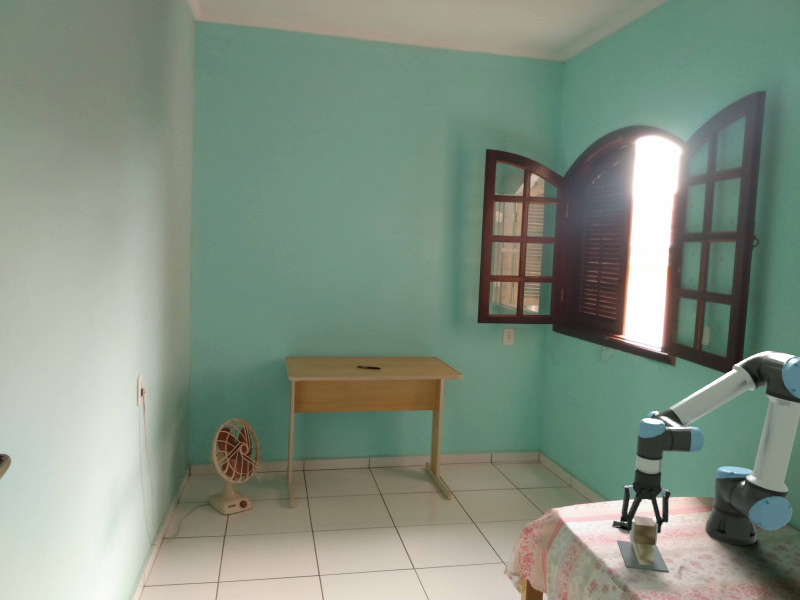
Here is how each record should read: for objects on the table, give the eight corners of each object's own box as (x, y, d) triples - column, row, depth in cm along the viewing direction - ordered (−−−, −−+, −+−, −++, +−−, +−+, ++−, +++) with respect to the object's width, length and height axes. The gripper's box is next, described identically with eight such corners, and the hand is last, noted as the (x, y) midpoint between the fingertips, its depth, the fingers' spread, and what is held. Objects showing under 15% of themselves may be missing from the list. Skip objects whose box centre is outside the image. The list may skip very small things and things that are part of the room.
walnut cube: (650, 536, 193) (652, 517, 192) (655, 545, 187) (656, 526, 187) (630, 533, 194) (632, 515, 194) (634, 543, 188) (635, 524, 188)
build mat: (656, 545, 198) (656, 544, 198) (668, 572, 182) (668, 570, 182) (617, 541, 200) (617, 540, 200) (626, 567, 184) (626, 565, 184)
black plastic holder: (646, 528, 211) (647, 515, 211) (645, 537, 205) (646, 524, 204) (608, 520, 216) (609, 507, 216) (606, 528, 210) (607, 516, 209)
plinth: (644, 546, 197) (645, 531, 196) (653, 565, 185) (654, 549, 184) (631, 544, 197) (632, 529, 197) (639, 564, 186) (640, 548, 185)
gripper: (677, 467, 190) (671, 538, 193) (614, 462, 194) (609, 531, 196) (684, 477, 183) (678, 550, 185) (618, 470, 186) (612, 543, 189)
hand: (642, 540), depth 191 cm, fingers closed on walnut cube, 6 cm apart
